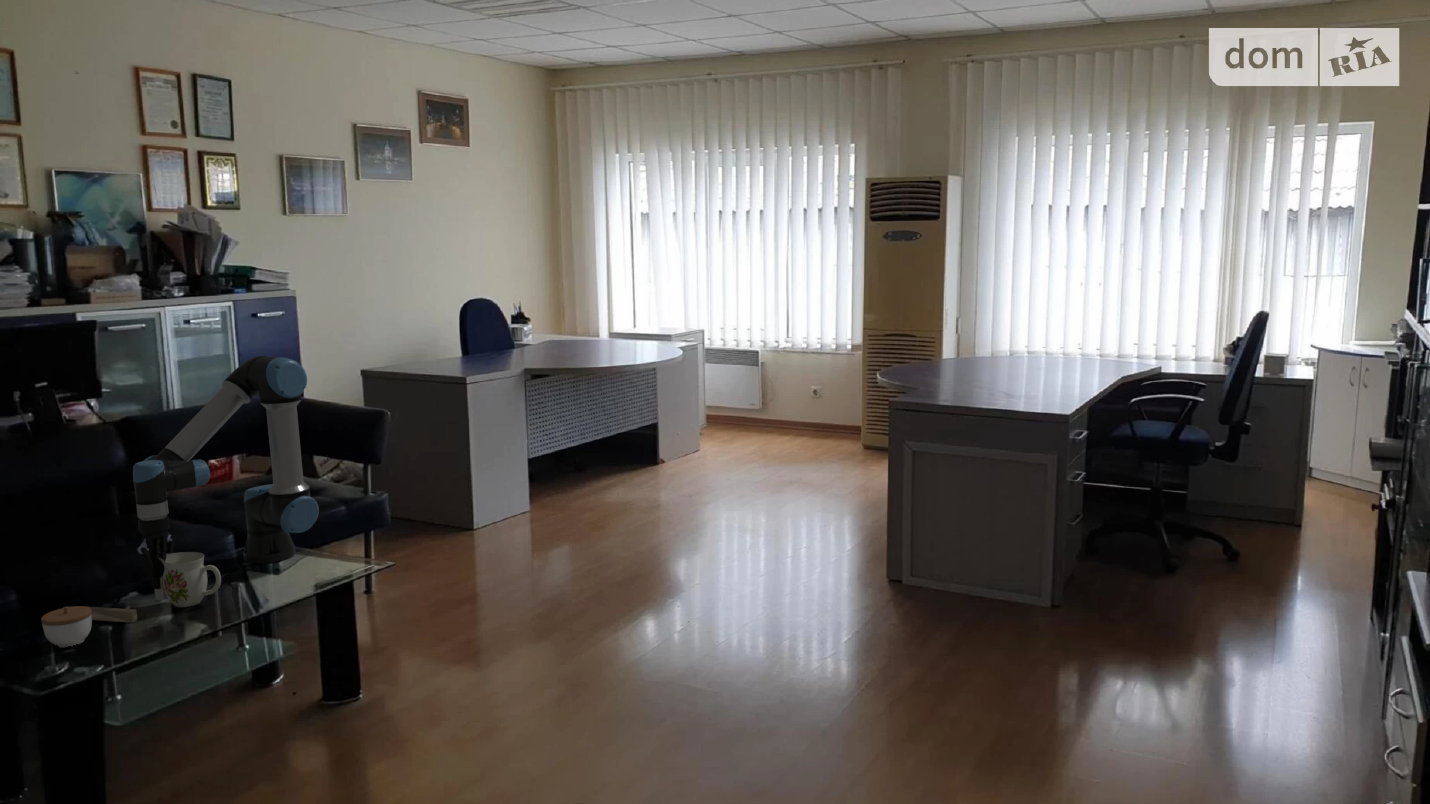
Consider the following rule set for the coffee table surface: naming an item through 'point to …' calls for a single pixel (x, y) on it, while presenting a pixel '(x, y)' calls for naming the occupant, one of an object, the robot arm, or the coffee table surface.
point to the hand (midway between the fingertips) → (161, 598)
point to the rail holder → (114, 614)
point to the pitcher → (187, 578)
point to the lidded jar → (67, 625)
